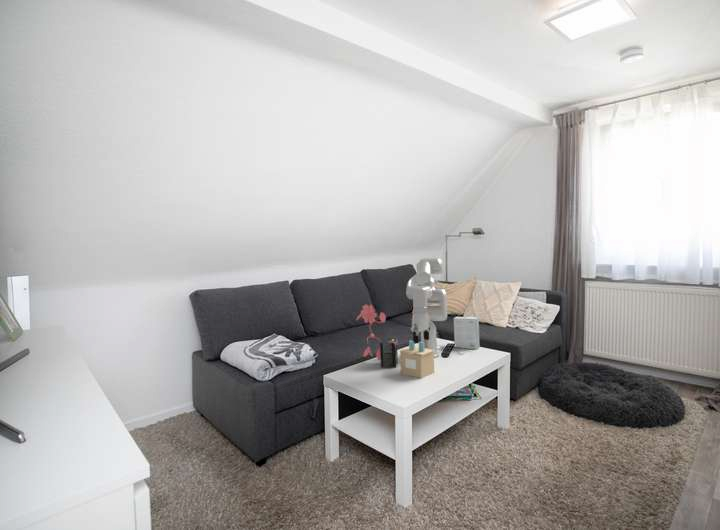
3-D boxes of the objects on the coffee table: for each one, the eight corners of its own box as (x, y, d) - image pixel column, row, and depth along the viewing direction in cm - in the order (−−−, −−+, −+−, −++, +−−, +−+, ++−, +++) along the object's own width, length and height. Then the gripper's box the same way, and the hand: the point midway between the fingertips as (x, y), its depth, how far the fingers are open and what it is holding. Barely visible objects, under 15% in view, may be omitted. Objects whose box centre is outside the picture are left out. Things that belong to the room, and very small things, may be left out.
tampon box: (396, 367, 239) (395, 343, 238) (380, 367, 241) (379, 342, 240) (398, 362, 250) (397, 338, 249) (383, 362, 251) (382, 338, 251)
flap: (425, 349, 230) (425, 339, 230) (434, 351, 226) (434, 341, 226) (413, 353, 222) (413, 344, 222) (422, 355, 218) (422, 345, 218)
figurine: (363, 353, 272) (360, 301, 270) (393, 360, 254) (390, 304, 252) (346, 359, 261) (343, 304, 259) (377, 366, 243) (373, 308, 241)
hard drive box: (479, 346, 278) (479, 317, 277) (477, 349, 271) (476, 319, 270) (457, 344, 285) (456, 316, 284) (453, 347, 279) (453, 318, 278)
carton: (412, 367, 238) (411, 337, 237) (434, 372, 228) (433, 341, 227) (399, 372, 229) (398, 342, 228) (421, 378, 219) (420, 346, 218)
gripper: (424, 307, 233) (424, 337, 233) (405, 311, 220) (406, 343, 221) (435, 308, 228) (436, 339, 228) (416, 312, 215) (417, 345, 216)
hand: (421, 341), depth 225 cm, fingers open, 9 cm apart
